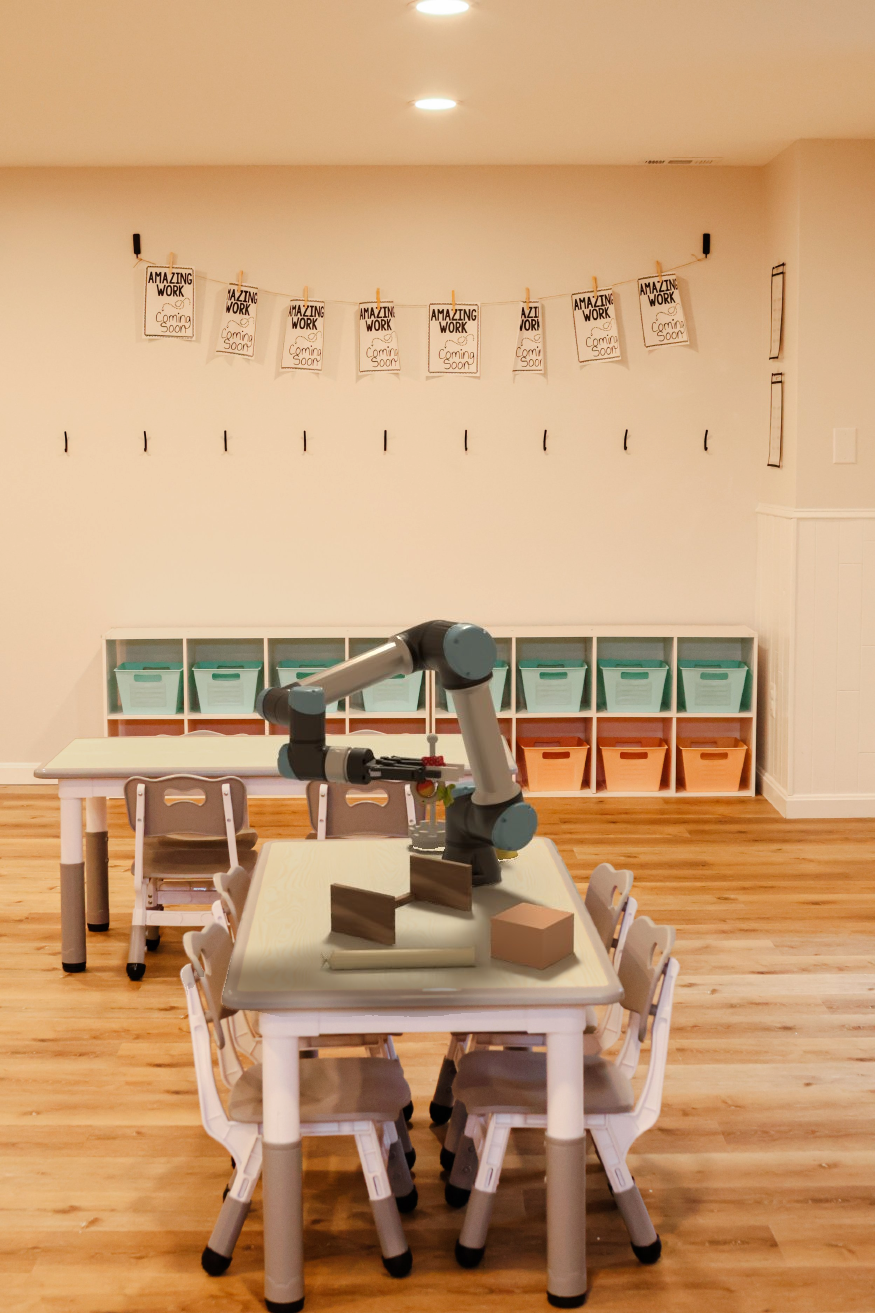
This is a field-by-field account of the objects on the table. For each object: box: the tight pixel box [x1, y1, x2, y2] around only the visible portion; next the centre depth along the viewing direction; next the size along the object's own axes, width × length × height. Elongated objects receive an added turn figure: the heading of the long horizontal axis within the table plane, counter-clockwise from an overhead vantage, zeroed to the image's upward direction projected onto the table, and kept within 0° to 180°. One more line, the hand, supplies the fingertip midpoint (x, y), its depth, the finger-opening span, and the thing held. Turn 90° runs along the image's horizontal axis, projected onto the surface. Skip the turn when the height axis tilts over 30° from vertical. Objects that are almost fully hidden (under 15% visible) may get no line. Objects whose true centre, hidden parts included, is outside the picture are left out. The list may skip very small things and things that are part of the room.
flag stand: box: [407, 732, 445, 849], centre depth 339 cm, size 13×13×30 cm
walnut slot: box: [329, 853, 473, 947], centre depth 281 cm, size 29×16×10 cm, turn 144°
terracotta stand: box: [490, 902, 575, 970], centre depth 260 cm, size 12×12×8 cm
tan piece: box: [320, 947, 477, 971], centre depth 254 cm, size 4×30×4 cm, turn 93°
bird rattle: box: [409, 755, 456, 808], centre depth 262 cm, size 6×11×9 cm
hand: (460, 772), depth 260 cm, fingers closed on bird rattle, 3 cm apart
